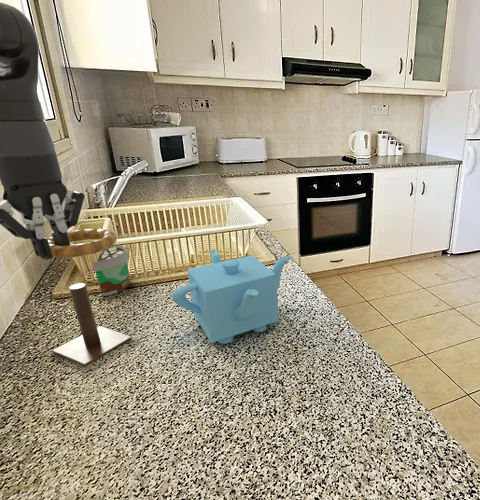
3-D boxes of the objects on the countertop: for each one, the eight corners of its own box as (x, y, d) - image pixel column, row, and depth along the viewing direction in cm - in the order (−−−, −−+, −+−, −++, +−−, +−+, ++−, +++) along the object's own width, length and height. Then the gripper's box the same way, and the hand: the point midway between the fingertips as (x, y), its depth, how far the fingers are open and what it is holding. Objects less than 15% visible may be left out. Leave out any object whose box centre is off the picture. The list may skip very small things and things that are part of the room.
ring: (28, 252, 64) (24, 241, 64) (90, 234, 74) (88, 224, 73) (70, 263, 61) (67, 252, 60) (130, 242, 70) (128, 232, 69)
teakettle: (171, 346, 72) (159, 277, 66) (217, 299, 89) (211, 241, 84) (265, 357, 70) (261, 287, 64) (294, 307, 87) (292, 248, 81)
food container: (132, 298, 89) (123, 259, 85) (102, 302, 87) (92, 262, 83) (138, 276, 99) (131, 241, 96) (111, 280, 97) (103, 244, 94)
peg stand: (54, 357, 68) (32, 291, 63) (101, 331, 76) (86, 271, 71) (86, 371, 65) (67, 303, 60) (133, 343, 73) (119, 280, 68)
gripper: (56, 145, 64) (81, 240, 71) (-48, 154, 52) (-8, 267, 59) (86, 148, 62) (108, 246, 68) (-17, 158, 50) (22, 275, 56)
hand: (54, 255), depth 63 cm, fingers closed on ring, 2 cm apart
